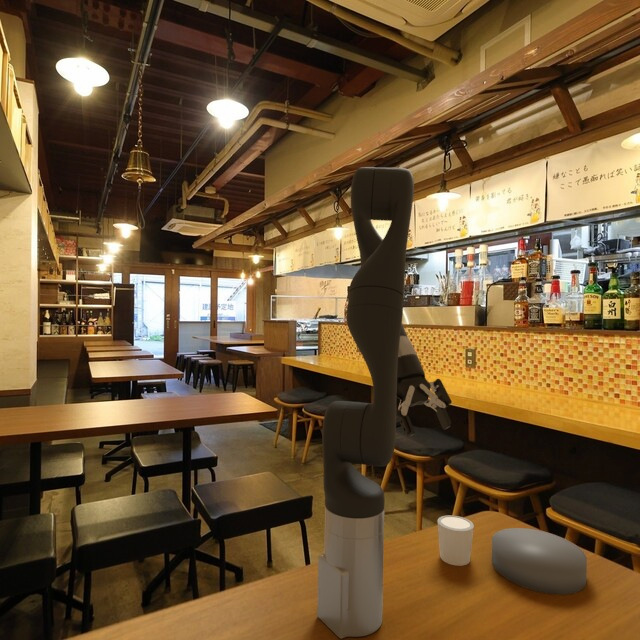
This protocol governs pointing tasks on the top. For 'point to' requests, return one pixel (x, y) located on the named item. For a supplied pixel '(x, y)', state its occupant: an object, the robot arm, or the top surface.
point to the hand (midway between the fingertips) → (429, 431)
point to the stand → (539, 561)
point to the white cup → (455, 539)
